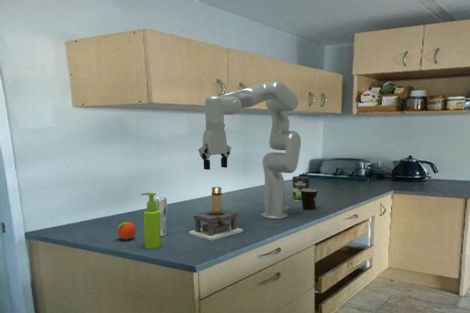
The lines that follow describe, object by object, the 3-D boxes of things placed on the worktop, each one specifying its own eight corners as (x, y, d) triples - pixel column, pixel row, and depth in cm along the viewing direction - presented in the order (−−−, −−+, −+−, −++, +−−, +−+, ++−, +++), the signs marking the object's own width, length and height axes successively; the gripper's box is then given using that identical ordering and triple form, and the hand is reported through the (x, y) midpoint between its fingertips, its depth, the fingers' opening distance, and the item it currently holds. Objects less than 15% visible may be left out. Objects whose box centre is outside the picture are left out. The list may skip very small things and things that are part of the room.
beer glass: (168, 236, 157) (168, 199, 156) (151, 237, 155) (150, 200, 154) (166, 231, 163) (166, 196, 162) (150, 233, 161) (149, 197, 160)
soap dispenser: (147, 243, 147) (145, 191, 146) (163, 244, 145) (162, 192, 144) (139, 247, 142) (137, 194, 140) (155, 249, 140) (154, 194, 138)
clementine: (123, 243, 147) (123, 225, 147) (111, 240, 151) (111, 222, 151) (139, 238, 154) (139, 221, 153) (128, 235, 158) (127, 218, 157)
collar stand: (220, 225, 173) (220, 208, 172) (243, 231, 163) (242, 212, 162) (188, 234, 160) (188, 214, 159) (211, 240, 150) (210, 220, 149)
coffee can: (308, 202, 226) (308, 178, 225) (291, 201, 229) (291, 177, 228) (310, 199, 235) (310, 176, 234) (293, 198, 238) (293, 175, 237)
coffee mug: (309, 206, 213) (309, 188, 213) (320, 209, 206) (320, 190, 205) (293, 209, 207) (293, 190, 206) (304, 211, 200) (304, 192, 199)
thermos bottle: (216, 228, 164) (216, 186, 163) (223, 230, 161) (223, 187, 160) (209, 230, 161) (209, 187, 160) (216, 232, 158) (216, 188, 157)
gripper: (223, 126, 167) (224, 166, 168) (192, 127, 155) (193, 169, 156) (236, 126, 162) (236, 167, 163) (204, 127, 149) (205, 171, 151)
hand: (215, 168), depth 159 cm, fingers open, 9 cm apart
